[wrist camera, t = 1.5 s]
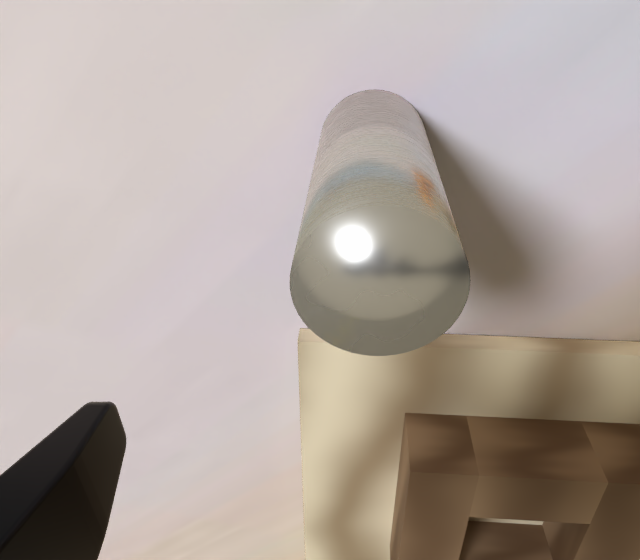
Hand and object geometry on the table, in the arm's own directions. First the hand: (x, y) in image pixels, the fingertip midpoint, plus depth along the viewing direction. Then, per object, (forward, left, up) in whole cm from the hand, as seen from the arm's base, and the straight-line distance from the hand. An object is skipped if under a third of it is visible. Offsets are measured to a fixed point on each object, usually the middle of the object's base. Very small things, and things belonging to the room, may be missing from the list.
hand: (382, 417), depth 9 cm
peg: (0, 0, -14) cm, 14 cm away
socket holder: (-8, +19, -14) cm, 25 cm away
